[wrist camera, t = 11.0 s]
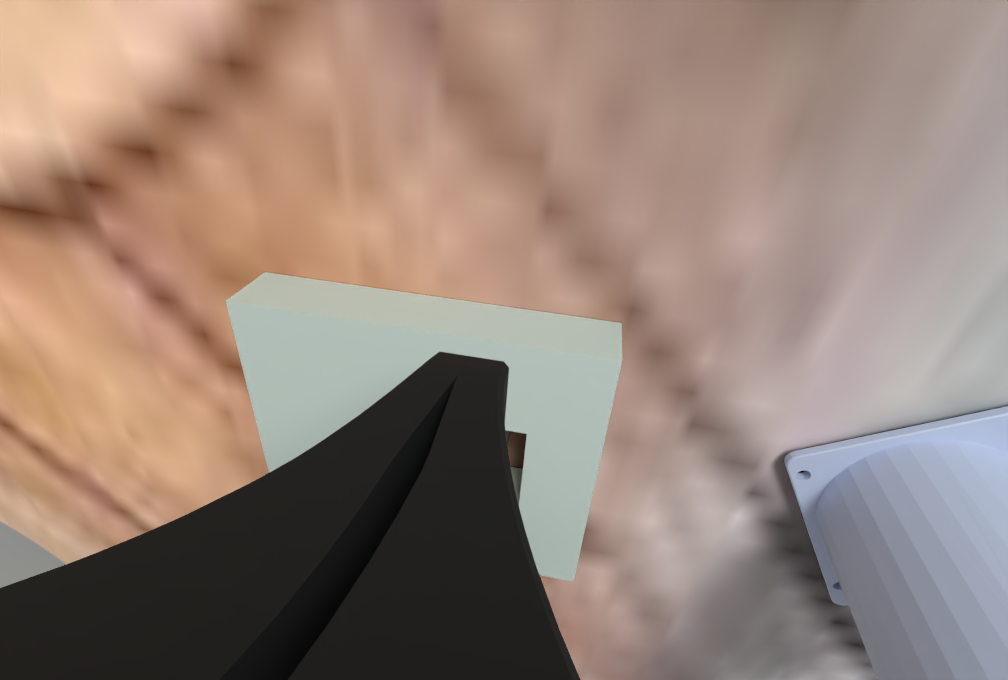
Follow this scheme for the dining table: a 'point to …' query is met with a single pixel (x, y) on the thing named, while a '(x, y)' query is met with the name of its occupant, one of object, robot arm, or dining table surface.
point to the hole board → (408, 345)
